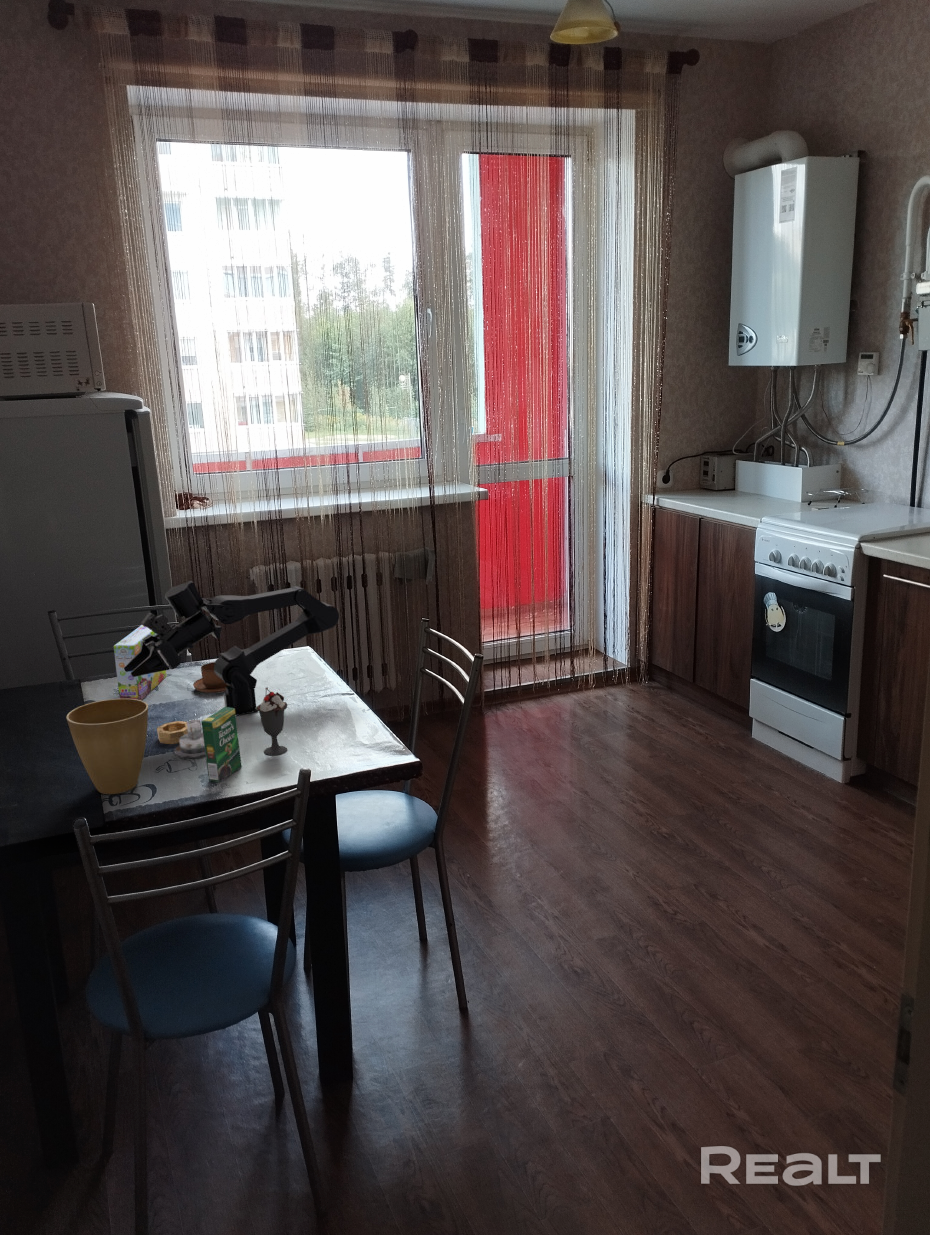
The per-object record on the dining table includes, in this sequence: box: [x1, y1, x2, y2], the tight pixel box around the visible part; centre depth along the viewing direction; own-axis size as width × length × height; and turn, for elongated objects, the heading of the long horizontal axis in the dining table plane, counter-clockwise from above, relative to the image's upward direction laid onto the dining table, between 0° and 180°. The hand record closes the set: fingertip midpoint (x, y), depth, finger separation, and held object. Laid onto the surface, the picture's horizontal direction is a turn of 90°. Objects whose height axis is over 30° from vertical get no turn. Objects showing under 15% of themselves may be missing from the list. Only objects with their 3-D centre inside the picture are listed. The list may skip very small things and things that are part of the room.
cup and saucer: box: [192, 661, 227, 694], centre depth 245 cm, size 12×12×6 cm
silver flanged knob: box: [174, 719, 206, 760], centre depth 205 cm, size 9×9×6 cm
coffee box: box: [201, 706, 243, 783], centre depth 191 cm, size 8×3×13 cm, turn 159°
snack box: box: [113, 624, 168, 701], centre depth 245 cm, size 21×6×15 cm, turn 179°
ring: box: [156, 720, 188, 745], centre depth 213 cm, size 7×7×2 cm
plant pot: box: [66, 698, 149, 795], centre depth 188 cm, size 15×15×16 cm
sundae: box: [255, 687, 288, 756], centre depth 202 cm, size 7×7×15 cm
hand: (128, 672), depth 213 cm, fingers open, 9 cm apart
